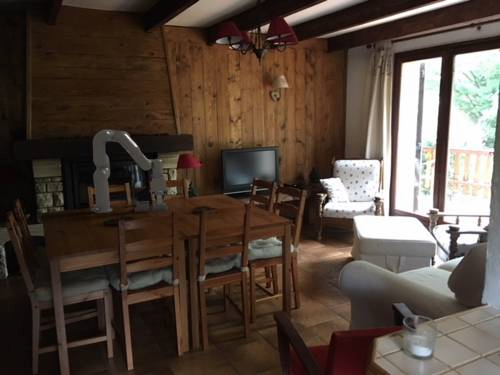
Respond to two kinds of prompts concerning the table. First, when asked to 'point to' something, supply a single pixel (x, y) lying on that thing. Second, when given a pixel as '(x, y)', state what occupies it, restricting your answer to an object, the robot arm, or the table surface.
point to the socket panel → (145, 207)
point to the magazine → (144, 195)
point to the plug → (159, 198)
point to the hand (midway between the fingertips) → (159, 199)
